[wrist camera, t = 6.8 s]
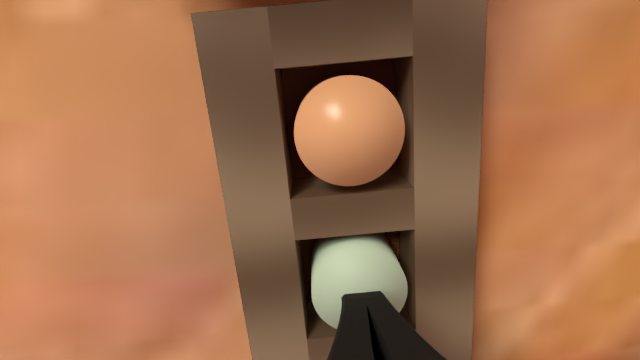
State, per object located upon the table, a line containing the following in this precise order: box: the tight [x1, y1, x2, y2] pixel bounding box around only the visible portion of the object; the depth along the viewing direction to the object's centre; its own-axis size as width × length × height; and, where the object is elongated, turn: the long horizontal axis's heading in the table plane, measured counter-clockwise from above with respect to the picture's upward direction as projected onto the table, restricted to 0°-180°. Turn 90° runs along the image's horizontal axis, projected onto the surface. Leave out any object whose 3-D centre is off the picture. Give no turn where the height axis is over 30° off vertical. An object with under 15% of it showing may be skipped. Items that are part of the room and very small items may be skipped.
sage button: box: [311, 232, 408, 329], centre depth 14 cm, size 4×4×2 cm
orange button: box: [294, 75, 405, 186], centre depth 13 cm, size 4×4×2 cm
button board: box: [191, 0, 488, 360], centre depth 15 cm, size 20×9×2 cm, turn 5°
